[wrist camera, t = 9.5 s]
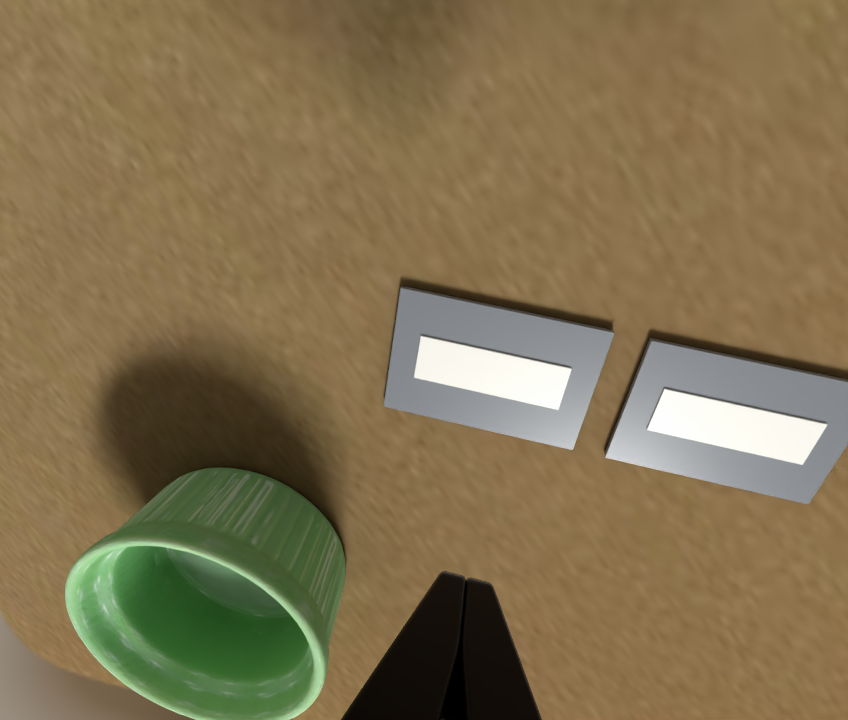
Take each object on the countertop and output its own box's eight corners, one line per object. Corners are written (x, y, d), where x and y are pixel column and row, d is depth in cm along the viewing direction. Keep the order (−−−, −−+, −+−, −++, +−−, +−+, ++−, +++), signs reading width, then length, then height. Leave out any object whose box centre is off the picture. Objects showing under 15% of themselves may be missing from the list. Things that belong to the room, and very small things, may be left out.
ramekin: (344, 645, 23) (307, 757, 19) (150, 585, 23) (75, 682, 19) (380, 491, 19) (342, 594, 15) (143, 422, 19) (46, 504, 15)
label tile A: (878, 386, 14) (884, 390, 14) (805, 499, 16) (809, 505, 16) (650, 338, 14) (652, 341, 14) (604, 453, 16) (605, 458, 16)
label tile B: (613, 330, 14) (614, 333, 14) (572, 446, 16) (572, 451, 16) (402, 285, 15) (400, 288, 15) (385, 403, 17) (383, 407, 17)
